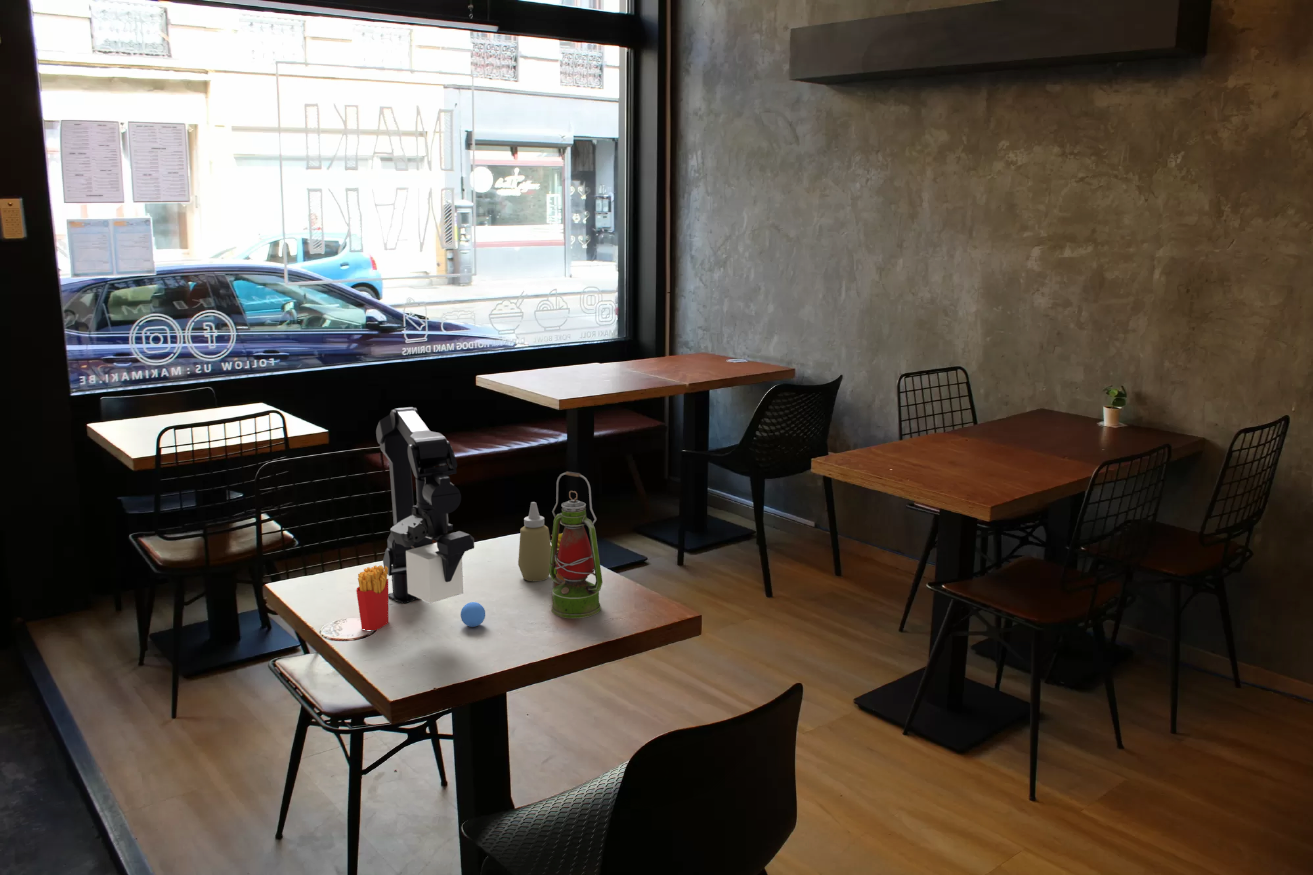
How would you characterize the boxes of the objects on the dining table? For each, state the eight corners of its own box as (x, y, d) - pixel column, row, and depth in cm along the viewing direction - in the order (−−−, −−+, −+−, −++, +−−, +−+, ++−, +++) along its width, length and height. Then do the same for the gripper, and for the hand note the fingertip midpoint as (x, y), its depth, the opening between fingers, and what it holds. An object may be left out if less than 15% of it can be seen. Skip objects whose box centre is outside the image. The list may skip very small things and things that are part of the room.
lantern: (534, 610, 224) (530, 473, 218) (564, 595, 233) (560, 463, 227) (588, 623, 217) (585, 482, 211) (617, 606, 226) (615, 471, 220)
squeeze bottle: (515, 573, 247) (512, 499, 243) (549, 570, 249) (547, 496, 245) (521, 585, 239) (519, 509, 235) (556, 581, 242) (554, 505, 238)
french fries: (371, 633, 213) (367, 577, 210) (354, 631, 214) (350, 574, 212) (396, 618, 221) (392, 564, 218) (380, 616, 222) (376, 561, 219)
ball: (479, 604, 220) (468, 626, 219) (462, 595, 217) (451, 618, 215) (494, 610, 217) (483, 632, 215) (477, 601, 213) (466, 624, 212)
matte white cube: (407, 593, 208) (405, 550, 206) (440, 583, 214) (438, 542, 212) (430, 603, 203) (428, 559, 201) (463, 593, 209) (461, 550, 207)
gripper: (369, 499, 205) (374, 575, 209) (424, 519, 193) (429, 599, 196) (417, 488, 213) (421, 562, 216) (474, 506, 200) (477, 584, 204)
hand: (436, 576), depth 208 cm, fingers closed on matte white cube, 8 cm apart
